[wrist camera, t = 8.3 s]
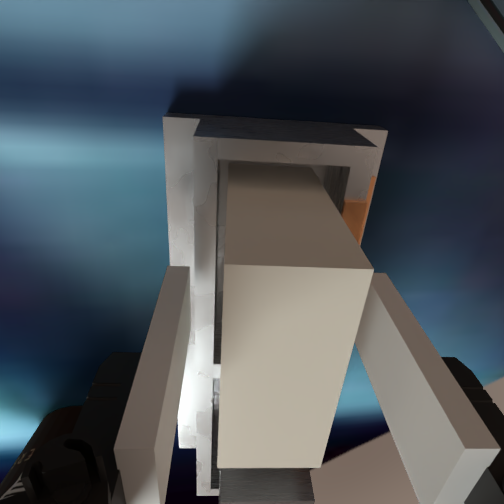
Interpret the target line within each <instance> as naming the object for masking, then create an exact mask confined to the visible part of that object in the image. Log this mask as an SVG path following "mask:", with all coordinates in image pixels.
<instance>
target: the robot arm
mask: <svg viewBox="0 0 504 504" xmlns="http://www.w3.org/2000/svg"><path fill="white" fill-rule="evenodd" d="M190 330H191V302H190V266H167V269H166V273H165V276H164V280H163V283H162V286H161V290H160V293H159V297H158V300H157V303H156V307H155V310H154V314H153V317H152V320H151V324H150V327H149V330H148V334H147V337H146V341H145V344H144V347H143V351H142V353H131V352H113V353H112V354H111V355H110V356H109V357H108V358H107V359H106V360H105V361H104V362H103V363H102V364H101V365H100V366H99V369H98V371H97V373H96V376H95V378H94V381H93V384H92V386H91V388H90V390H89V393H88V395H87V400H86V401H85V402H84V405H83V407H82V410H81V412H80V414H79V417H78V419H77V422H76V424H75V427H74V429H73V431H72V433H70V434H63V435H61V436H59V437H56V438H54V439H51V440H49V441H48V442H47V443H45V444H44V445H43V446H41V447H40V448H39V449H37V450H36V451H35V452H34V454H33V455H32V456H31V458H30V459H29V460H28V461H27V463H26V464H25V467H24V469H23V472H22V475H21V478H20V479H21V482H22V484H23V486H24V489H25V491H24V492H21V493H19V494H16V495H13V496H10V497H7V498H4V499H1V500H0V504H165V497H166V490H167V484H168V477H169V470H170V464H171V457H172V450H173V444H174V437H175V430H176V424H177V417H178V410H179V404H180V397H181V390H182V384H183V377H184V370H185V364H186V357H187V350H188V344H189V337H190ZM355 344H356V347H357V349H358V352H359V354H360V357H361V359H362V362H363V364H364V367H365V369H366V372H367V374H368V377H369V379H370V382H371V384H372V387H373V389H374V392H375V394H376V397H377V399H378V402H379V404H380V406H381V409H382V411H383V414H384V416H385V419H386V421H387V424H388V426H389V429H390V431H391V434H392V436H393V439H394V441H395V444H396V446H397V449H398V451H399V454H400V456H401V459H402V461H403V464H404V466H405V469H406V471H407V474H408V476H409V479H410V481H411V484H412V486H413V488H414V491H415V494H416V496H417V499H418V501H419V503H420V504H504V415H503V414H502V412H501V411H500V410H499V408H498V407H497V405H496V404H495V403H493V402H492V398H491V397H490V396H489V394H488V393H487V392H486V390H483V386H482V385H481V383H480V382H479V380H478V379H477V378H476V376H475V375H474V373H473V372H472V371H471V370H470V369H469V368H468V367H466V366H465V365H464V364H463V363H462V362H460V361H459V360H458V359H457V358H455V357H440V355H439V354H438V352H437V350H436V349H435V347H434V346H433V344H432V343H431V341H430V340H429V338H428V337H427V335H426V334H425V332H424V331H423V329H422V328H421V326H420V325H419V323H418V321H417V320H416V318H415V317H414V315H413V314H412V312H411V311H410V309H409V308H408V306H407V305H406V303H405V302H404V300H403V299H402V297H401V296H400V294H399V292H398V291H397V289H396V288H395V286H394V285H393V283H392V282H391V280H390V279H389V277H388V276H387V274H386V273H373V275H372V279H371V283H370V287H369V290H368V294H367V298H366V301H365V305H364V309H363V312H362V316H361V320H360V323H359V327H358V331H357V334H356V338H355Z"/></svg>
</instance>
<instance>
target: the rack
mask: <svg viewBox="0 0 504 504" xmlns="http://www.w3.org/2000/svg"><path fill="white" fill-rule="evenodd" d="M163 131H164V152H165V172H166V192H167V212H168V233H169V253H170V266H190V302H191V330H190V337H189V344H188V350H187V357H186V364H185V370H184V377H183V384H182V390H181V397H180V404H179V410H178V435H179V448H197V496H215V495H219V504H314V502H315V499H314V494H313V488H312V482H311V477H310V471H309V468H217V457H218V428H219V399H220V370H221V341H222V312H223V283H224V257H225V234H226V211H227V188H228V165H229V163H233V164H252V165H270V166H289V167H308V168H312V169H313V171H314V172H315V174H316V176H317V177H318V179H319V181H320V182H321V184H322V185H323V187H324V189H325V190H326V192H327V194H328V195H329V197H330V198H331V200H332V202H333V203H334V205H335V207H336V208H337V210H338V211H339V213H340V215H341V216H342V218H343V220H344V221H345V223H346V224H347V226H348V228H349V229H350V231H351V233H352V234H353V236H354V238H355V239H356V241H357V242H358V244H359V246H360V245H361V241H362V237H363V233H364V228H365V224H366V220H367V216H368V212H369V208H370V204H371V199H372V195H373V191H374V187H375V183H376V179H377V175H378V170H379V166H380V162H381V158H382V154H383V150H384V146H385V142H386V137H387V133H388V130H386V129H384V128H382V127H381V126H374V125H358V124H342V123H326V122H311V121H295V120H279V119H263V118H247V117H231V116H215V115H200V114H184V113H168V112H167V113H166V114H165V115H164V116H163Z"/></svg>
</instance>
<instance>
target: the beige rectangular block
mask: <svg viewBox="0 0 504 504" xmlns="http://www.w3.org/2000/svg"><path fill="white" fill-rule="evenodd" d="M373 272H374V268H373V267H372V265H371V264H370V262H369V260H368V259H367V257H366V255H365V254H364V252H363V251H362V249H361V247H360V246H359V244H358V242H357V241H356V239H355V238H354V236H353V234H352V233H351V231H350V229H349V228H348V226H347V224H346V223H345V221H344V220H343V218H342V216H341V215H340V213H339V211H338V210H337V208H336V207H335V205H334V203H333V202H332V200H331V198H330V197H329V195H328V194H327V192H326V190H325V189H324V187H323V185H322V184H321V182H320V181H319V179H318V177H317V176H316V174H315V172H314V171H313V169H312V168H308V167H289V166H270V165H252V164H233V163H229V165H228V188H227V211H226V234H225V257H224V283H223V312H222V341H221V370H220V399H219V428H218V457H217V468H320V467H321V463H322V459H323V456H324V452H325V448H326V445H327V441H328V437H329V434H330V430H331V426H332V423H333V419H334V415H335V412H336V408H337V404H338V401H339V397H340V393H341V390H342V386H343V382H344V378H345V375H346V371H347V367H348V364H349V360H350V356H351V353H352V349H353V345H354V342H355V338H356V334H357V331H358V327H359V323H360V320H361V316H362V312H363V309H364V305H365V301H366V298H367V294H368V290H369V287H370V283H371V279H372V275H373Z"/></svg>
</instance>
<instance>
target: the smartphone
mask: <svg viewBox="0 0 504 504" xmlns="http://www.w3.org/2000/svg"><path fill="white" fill-rule="evenodd" d="M467 1H468V2H469V4H470V5H471V7H472V8H473V9H474V11H475V12H476V14H477V15H478V17H479V18H480V19H481V21H482V22H483V24H484V25H485V27H486V28H487V29H488V31H489V32H490V34H491V35H492V37H493V38H494V40H495V41H496V42H497V44H498V45H499V47H500V48H501V50H502V51H503V52H504V0H467Z"/></svg>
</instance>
